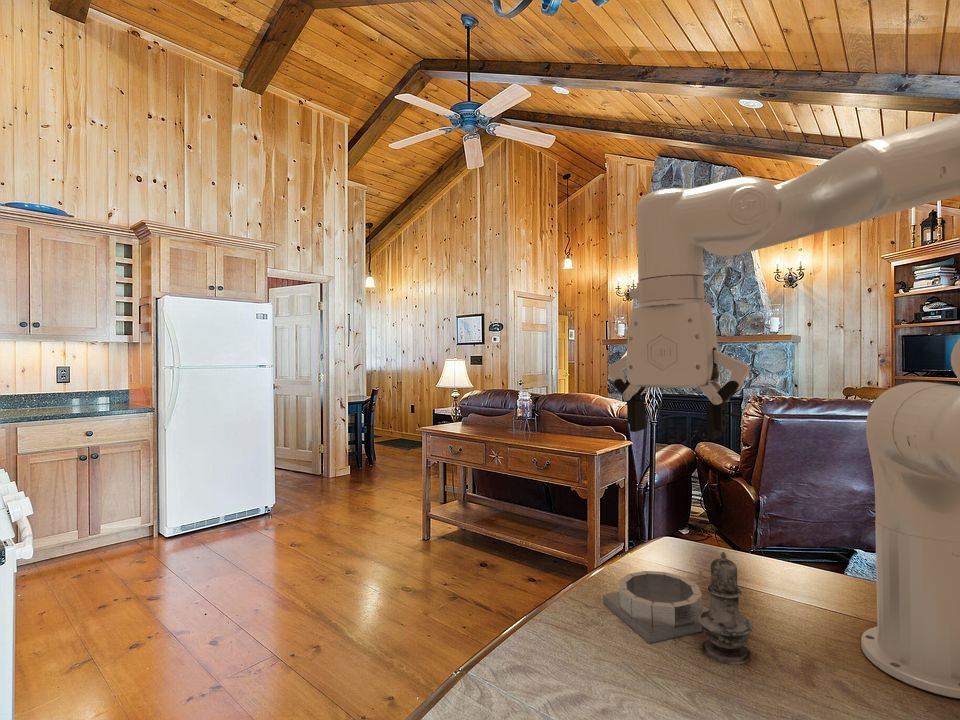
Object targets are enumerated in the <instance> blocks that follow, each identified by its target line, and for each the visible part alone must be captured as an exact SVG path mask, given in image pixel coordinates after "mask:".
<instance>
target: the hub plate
mask: <svg viewBox="0 0 960 720" xmlns="http://www.w3.org/2000/svg"><path fill="white" fill-rule="evenodd" d="M602 604H604V605H605V607H607V609H609V610H610V611H612V612H613V614H615V615H616V616H617V617H618V618H620V620H622V621H623V622H624V623H625V624H626V625H627V626H628V627H630V628H631V629H632V630H633V631H634V632H635V633H637V634H638V636H640V638H642V639H643V640H644V641H646V643H648V644H654V643H657V642H661V641H666V640H670V639H675V638H679V637H684V636H688V635H692V634H697V633H701V632H703V630H702V625H701V623H700V622H699V615H700V614H701V613H702V612H704V611H707V610H710V608H708V607H706V606H705V605H703V594H702V592H701V589H700V586H699V585H698V584H696V583H695V582H694V581H691V580H690V579H688V578H687V577H685V576H681V575H678V574H674V573H670V572H666V571H655V570H653V571H652V570H643V571H636V572H632V573H627V574H626V575H624V576H623V577H622V578H620V579H619V580H618V591H616V592H611V593H606V594H602Z"/></svg>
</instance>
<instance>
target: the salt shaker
mask: <svg viewBox="0 0 960 720" xmlns="http://www.w3.org/2000/svg"><path fill="white" fill-rule="evenodd" d="M726 557H727V554H726V552H725V551H722V552H721V553H720V557H718V558H716V559H713V560H712V561H711V563H710V584H709V585H708V586H707V591H709V593H710V607H709V609H710V610H707V611H704V612H702V613H701V614H700V615H699V622H700V623H701V625H702V630H703V631H702V632H703V634H704V636H705V638H707V639H706V640H704V641H703V642H702V645H701V650H702V652H703V653H704V654H705V655H706V656H707V657H709V658H710V659H712V660H713V661H716V662H719V663H722V664H726V665H732V666H734V665H742V664H745V663H748V662H749V661H750V659H751V651H750V650H749V649H748V648H747V647H745V645H746V644H748V641H749V638H750V635H751V633H752V631H753V628H754V627H753V623H752V622H751V621H750V620H749V619H748V618H746V617H745V616H744V615H741V613H740V606H739V605H740V603H739V601H740V600H739V597H741V595H742V591H741V590H740V589H739V588H738V586H739V585H738V567H737V565H736V563H734V562H733V561H732V560H730V559H728V558H726Z"/></svg>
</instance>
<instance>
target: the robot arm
mask: <svg viewBox="0 0 960 720" xmlns="http://www.w3.org/2000/svg"><path fill="white" fill-rule="evenodd" d="M956 197H960V113H957V114H953V115H950V116H946V117H944V118H940V119H937V120H934V121H930V122H926V123H924V124H923V123H922V124H919V125H915V126H913V127H909V128H905V129H902V130H900V131H895V132H891V133H888V134H886V135H882V136H876V137H874V138H871V139H868V140H866V141H862V142H860V143H858V144H856V145H854V146H852V147H850V148H848V149H846V150H843V151H842V152H840V153H839V154H836V155H835V156H833V157H832V158H830V159H828V160H826V161H825V162H823V163H822V164H820V165H818V166H816V167H814V168H813V169H811V170H809V171H807V172H805V173H802V174H799V175H798V176H796V177H793V178H791V179H789V180H786V181H784V182H781V183H778V184H776V185H773V183H771V182H770V181H768V180H766V179H764V178H760V177H757V176H740V177H738V176H737V177H733V178H729V179H724V180H721V181H718V182H714V183H710V184H705V185H701V186H697V187H690V188H686V187H671V188H663V189H659V190H656V191H655V190H654V191H652V192H650V193H647V194H645V195H643V197H641V198H640V199H639V201H638V203H637V206H636V240H637V241H636V245H637V246H636V247H637V273H638V274H637V275H638V276H637V277H638V279H637V280H638V282H637V283H636V287H635V288H633V289H630V290H629V292H628V295H629V298H630V300H636V301H637V304H638V307H632V308H631V309H632V310H631V315H630V319H629V324H628V325H629V326H628V333H627V345H626V355H625V356H622V357H621V358H620V359H618V360H616V361H615V362H613V363H611V364H610V365H608V366H607V372H608V373H609V376H610V379H611V380H612V381H613V386H614V387H615V389H617V391H618V392H619V393H620V394H621V395H622V398H623V400H624V401H626V416H627V417H626V418H627V424H628V425H629V431H630V433H637V432H640V431H643V430H645V429H647V424H646V423H647V422H646V416H647V415H646V400H645V398H642V395H643V394H644V392H645V391H646V390H647V389H648V388H661V389H662V388H665V389H666V388H667V389H696V388H698V389H699V390H700V391H701V392H702V393H703V394H704V395H705V397H706V398H707V399H708V400H709V403H708V404H707V405H706V406H705V413H706V415H705V417H706V438H708V439H709V440H715V439H718V438H720V437H722V436H723V432H725V431H726V429H727V410H726V409H727V408H726V407H727V405H726V404H727V403H728V402H729V401H730V399H731V398H732V397H734V395H736V394H737V393H738V392H739V391H740V390H741V389H742V385H743V383H744V382H745V380H746V378H747V376H748V375H749V373H750V371H751V366H750V365H749V364H747V363H745V362H743V361H741V360H739V359H736V358H734V357H732V356H730V355H728V354H726V353H724V352H721V351H719V345H718V338H717V332H716V325H715V321H714V320H715V319H714V315H713V311H712V308H711V304H710V303H709V302H705V288H704V287H705V284H704V282H705V279H704V275H705V274H704V250H706V252H708V253H709V254H711V255H715V256H719V257H734V256H739V255H741V254H745V253H749V252H754V251H757V250H761V249H765V248H769V247H773V246H777V245H781V244H784V243H788V242H792V241H795V240H798V239H802V238H806V237H809V236H812V235H817V234H820V233H824V232H827V231H830V230H831V231H832V230H835V229H841V228H845V227H850V226H853V225H856V224H860V223H864V222H867V221H869V220H872V219H876V218H881V217H884V216H887V215H891V214H895V213H898V212H903V211H906V210H911V209H913V208H916V207H921V206H924V205H929V204H931V203H937V202H940V201H943V200H948V199H951V198H953V199H954V198H956ZM950 363H951V364H950V366H951V367H952V370H953V373H954V374H955V376H956V377H957V379H959V380H960V338H958V340H957V341H956V343H955V344H954V346H953V349H952V351H951V354H950ZM720 367H723V368H724V369H726V370H729V372H731V376H730V377H729V379H728V381H727V382H726V383H725V384H724V385H721V384H720V383H719V382H718V381H719V378H720ZM625 369H626V377H625V375H624V370H625ZM865 430H866V431H865V432H866V433H865V434H866V435H865V436H866V441H867V447H868V452H869V457H870V458H869V459H870V462H871V469H872V473H873V476H872V477H873V484H874V501H875V503H874V504H875V508H874V509H875V524H874V525H875V565H876V566H875V569H876V570H875V572H876V578H875V579H876V617H877V618H876V621H877V623H876V624H877V625H876V626H874V627H872V628H868V629H867V630H865V631H864V632H863V633H862V635H861V637H860V638H861V639H860V643H861V650H862V652H863V653H864V656H865V657H866V658H867V659H868V660H869V661H870V662H871V663H872V664H873V665H875V666H876V667H877V668H879V669H880V670H881V671H883V672H885V673H886V674H888V675H890V676H891V677H893V678H895V679H897V680H899V681H901V682H903V683H905V684H908V685H910V686H912V687H916V688H918V689H921V690H924V691H926V692H930V693H933V694H936V695H939V696H943V697H949V698H953V699H958V700H959V699H960V385H954V384H947V383H946V384H945V383H939V382H928V381H915V382H907V383H902V384H899V385H895V386H893V387H891V388H888V389H887V390H885V391H883V392H882V393H881V394H880V395H879V396H878V397H877V398H876V399H875V400H874V401H873V402H872V404H871V406H870V408H869V410H868V413H867V416H866V424H865Z"/></svg>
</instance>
